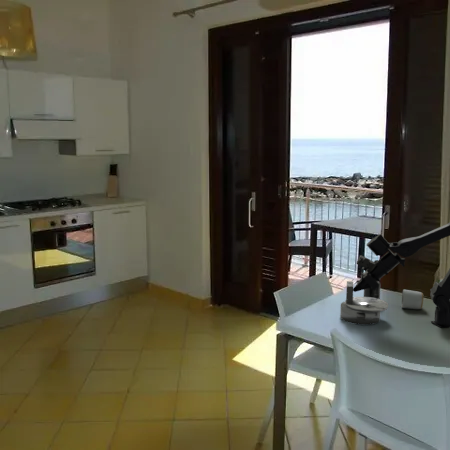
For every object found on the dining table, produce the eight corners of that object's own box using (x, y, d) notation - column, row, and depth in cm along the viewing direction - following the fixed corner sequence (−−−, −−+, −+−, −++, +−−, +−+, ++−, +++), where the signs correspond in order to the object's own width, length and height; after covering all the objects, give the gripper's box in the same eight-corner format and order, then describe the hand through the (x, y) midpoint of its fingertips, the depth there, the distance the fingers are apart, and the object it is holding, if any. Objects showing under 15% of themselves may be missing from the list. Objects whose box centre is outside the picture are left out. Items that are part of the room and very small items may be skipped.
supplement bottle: (377, 300, 224) (379, 273, 223) (381, 305, 218) (382, 277, 216) (361, 299, 225) (363, 273, 223) (364, 304, 218) (365, 277, 217)
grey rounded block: (423, 311, 209) (424, 293, 208) (401, 310, 211) (403, 291, 210) (420, 304, 219) (421, 287, 218) (400, 303, 221) (401, 285, 220)
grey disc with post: (386, 301, 205) (387, 281, 204) (389, 313, 190) (390, 291, 188) (345, 298, 209) (346, 278, 207) (345, 310, 193) (345, 289, 192)
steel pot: (378, 310, 211) (378, 298, 210) (381, 330, 187) (382, 317, 186) (340, 307, 214) (341, 295, 213) (339, 327, 190) (340, 314, 189)
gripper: (369, 244, 205) (339, 270, 209) (371, 254, 187) (338, 281, 191) (388, 265, 204) (358, 290, 208) (392, 276, 186) (359, 303, 190)
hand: (353, 290), depth 199 cm, fingers closed, pressing on grey disc with post
